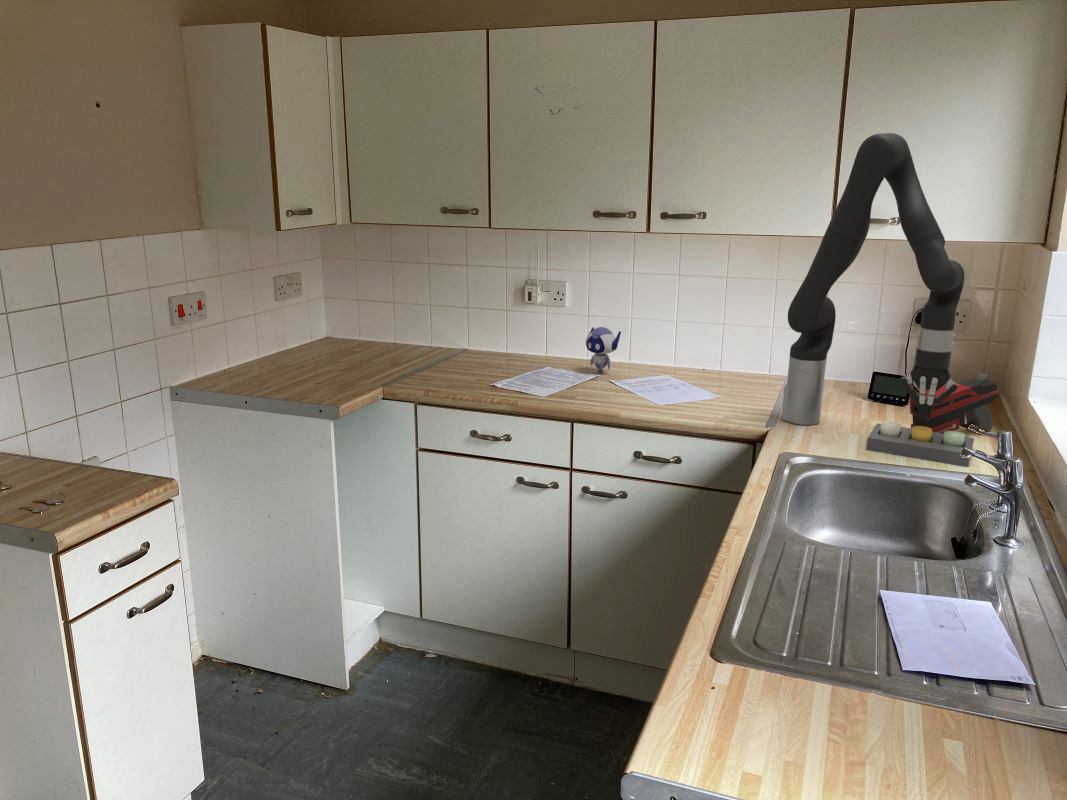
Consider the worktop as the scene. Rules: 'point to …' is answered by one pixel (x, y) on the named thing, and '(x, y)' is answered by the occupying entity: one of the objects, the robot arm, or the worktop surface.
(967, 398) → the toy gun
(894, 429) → the button ivory
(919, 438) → the button amber
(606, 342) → the toy
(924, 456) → the panel
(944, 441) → the button sage
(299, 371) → the worktop surface
